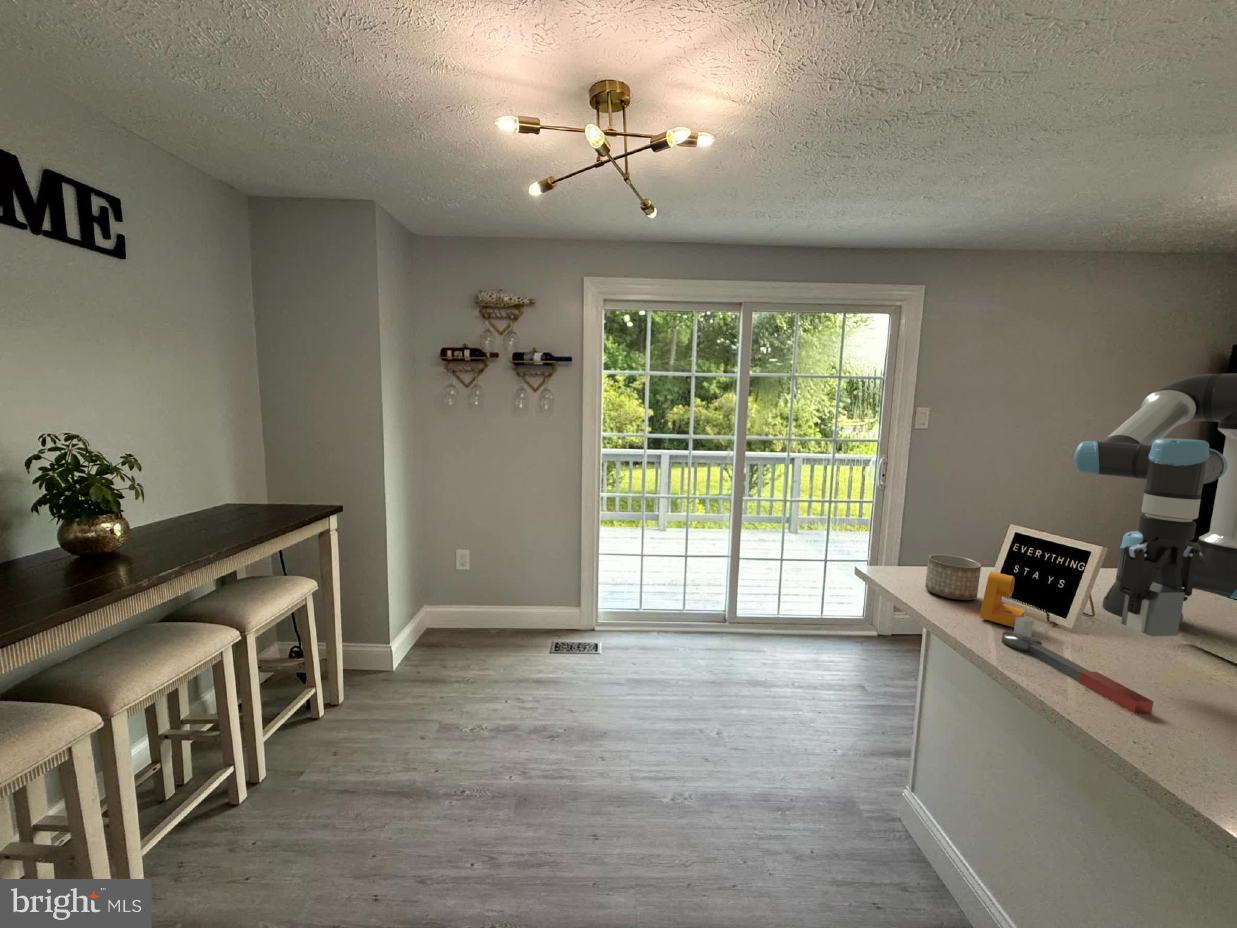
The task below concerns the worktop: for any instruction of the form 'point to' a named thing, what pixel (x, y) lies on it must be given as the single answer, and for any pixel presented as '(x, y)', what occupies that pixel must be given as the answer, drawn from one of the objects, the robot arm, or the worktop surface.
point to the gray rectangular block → (1160, 610)
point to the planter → (953, 576)
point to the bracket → (999, 600)
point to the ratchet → (1074, 668)
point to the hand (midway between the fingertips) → (1149, 628)
